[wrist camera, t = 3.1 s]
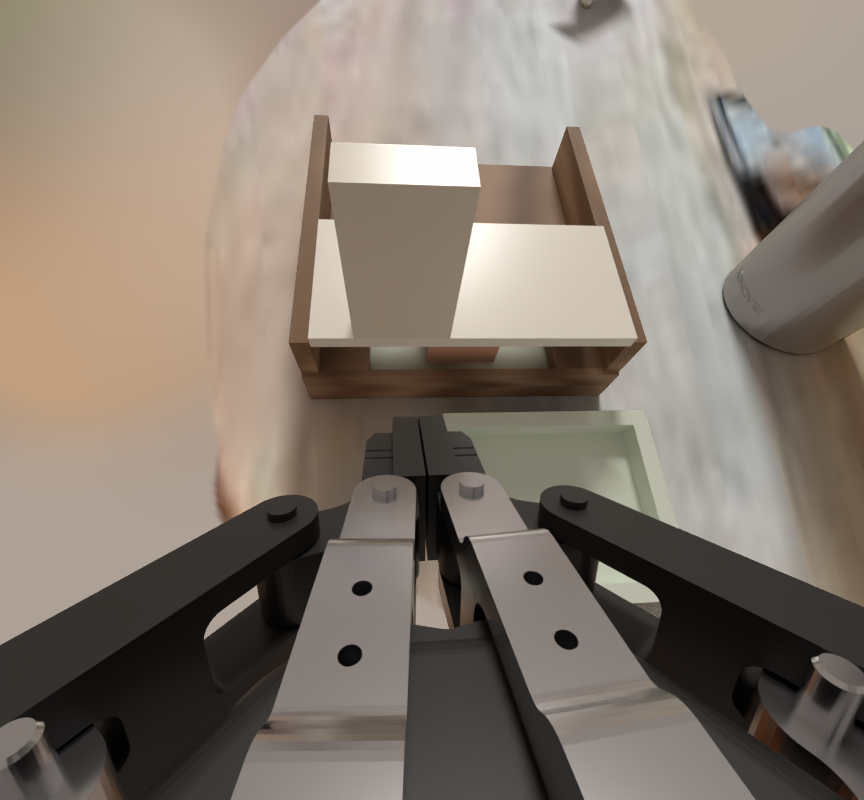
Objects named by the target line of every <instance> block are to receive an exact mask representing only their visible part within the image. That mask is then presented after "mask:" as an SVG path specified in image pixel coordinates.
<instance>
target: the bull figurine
mask: <svg viewBox="0 0 864 800" xmlns="http://www.w3.org/2000/svg"><path fill="white" fill-rule="evenodd" d="M592 1H593V0H585V2H584V3H583V7H584V8H590V5H591V3H592Z"/></svg>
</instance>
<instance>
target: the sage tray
mask: <svg viewBox="0 0 864 800" xmlns="http://www.w3.org/2000/svg"><path fill="white" fill-rule="evenodd" d="M442 416H443V418H444V421H445V425H446V428H447V431H448V432H449V431H461V432H463V433H464V434H465V435H467V436H468V437H470V438H471V440H472V442H473V445H474V449H475V450H476V452H477V456H478V457H479V459H480V461H481V464H482V466H483V469H484V471H485V473H486V475H488V476H490V477H492V478H494V479H496V480H497V481H498V482H499V483H500V484H501V486H502V487H503V489H504V491H505V492H506V494H507V496H508V497H510V498H514V499H517V500H523V501H529V502H536V503H539V502H540V495H541V493H542V492H543V491H544V490H545V489H547V488H549V487H552V486H558V485H569V486H576V487H580V488H584V489H586V490H589V491H591V492H594V493H596V494H599V495H601V496H603V497H606V498H608V499H610V500H613V501H615V502H617V503H620V504H622V505H624V506H627V507H629V508H631V509H634V510H636V511H638V512H641V513H643V514H646V515H648V516H650V517H653V518H655V519H657V520H660V521H662V522H664V523H667V524H669V525H671V526H674V527H676V528H678V525H677V521H676V518H675V514H674V511H673V507H672V504H671V500H670V497H669V493H668V490H667V486H666V483H665V479H664V476H663V473H662V469H661V466H660V462H659V459H658V455H657V452H656V448H655V445H654V441H653V438H652V434H651V431H650V427H649V424H648V420H647V417H646V414H645V410H615V411H552V412H489V413H443V415H442ZM678 529H679V528H678ZM595 582H596V583H598V584H599V585H601V586H603V587H604V588H606V589H608V590H610V591H611V592H613V593H615V594H617V595H618V596H620V597H622V598H624V599H625V600H627V601H629V602H630V603H647V602H660V601H659V600H658V598H657V596H656V595H655V594H654V593H653V592H652V591H651V590H650V589H649V588H647V587H646V586H644V585H642V584H640V583H639V582H637V581H635V580H633V579H631V578H629V577H627V576H626V575H624V574H622V573H620V572H618V571H616V570H614V569H613V568H611V567H609V566H607V565H605V564H603V563H601V562H600V561H599V564H598V570H597V576H596V581H595Z"/></svg>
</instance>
